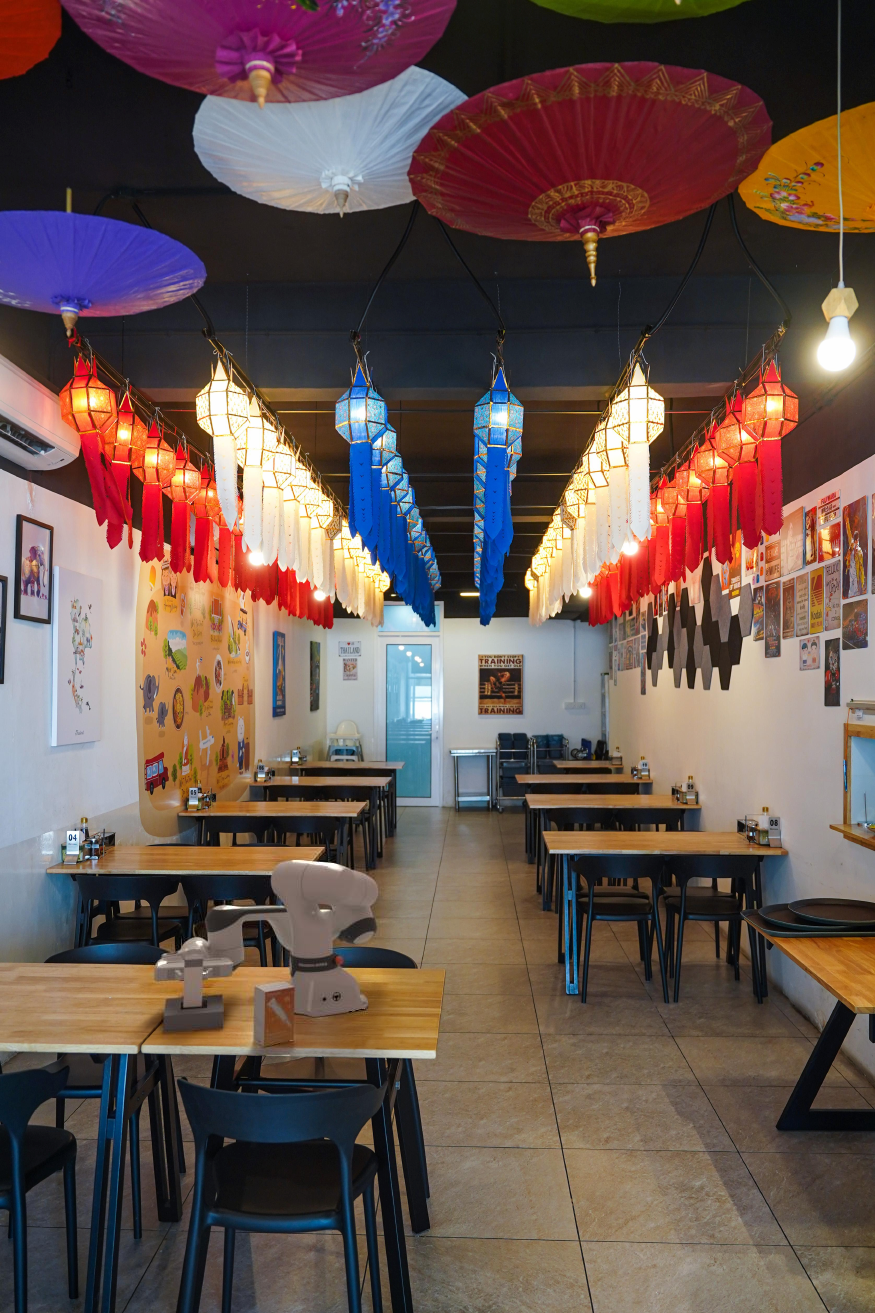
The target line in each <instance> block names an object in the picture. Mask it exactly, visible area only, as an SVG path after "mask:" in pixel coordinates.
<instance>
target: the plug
mask: <svg viewBox="0 0 875 1313" xmlns="http://www.w3.org/2000/svg"><path fill="white" fill-rule="evenodd" d="M202 978H203V954H201V955H185V963H184V981H183V997H184V1000H183V1008H184V1007H198V1006H202V996H203V980H202Z"/></svg>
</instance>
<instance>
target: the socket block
mask: <svg viewBox="0 0 875 1313" xmlns="http://www.w3.org/2000/svg"><path fill="white" fill-rule="evenodd" d="M223 999H224V997H223V994H213V995H211V994H210V995H202V1006H198V1007H184V1008H183V1000H184V996H182V997H172V998H171V997H170V998H166V999H165V1003H164V1004H165V1005H164V1011H163V1021H162V1022H163V1027H162V1032H163V1033H174V1032H186V1031H196V1030H198V1031H199V1030H210V1029H211V1030H212V1029H220V1028H222V1029H223V1028H224V1012H225V1011H224V1000H223Z"/></svg>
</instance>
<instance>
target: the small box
mask: <svg viewBox="0 0 875 1313" xmlns="http://www.w3.org/2000/svg"><path fill="white" fill-rule="evenodd" d="M253 988H254V992H253V993H254V995H253V996H254V997H253V1035H252V1037H253V1038H252V1039H253V1041H254V1042H256V1043H257V1044H259V1045H260V1046H262V1047H263V1048H265V1047H269V1046H274V1045H273V1044H275V1045H279V1043H280V1044H284V1042H285V1043H289V1042H291V1041H290V1040H293V1041H294V1038H295V1037H294V1032H295V1013H294V995H295V987H294V986H292V985H290V982H287V981H285V980H282V981H277V982H270V983H265V984H259V985H254V987H253ZM288 1041H289V1042H288Z"/></svg>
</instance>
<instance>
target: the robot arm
mask: <svg viewBox="0 0 875 1313" xmlns="http://www.w3.org/2000/svg"><path fill="white" fill-rule="evenodd" d="M270 884H271V888H272V891H273V893H274V894H275V895H276V896H277V897H278V898H279V899H280V900H281V902H282V903H283V905H279V904H277V905H276V904H275V905H274V904H271V905H270V904H269V905H268V904H267V905H265V904H263V905H236V906H234V905H227V904H222V905H218V906H215V907H212V908H211V909H210V910H209V912H208V913H207V915H206V916H205V919H204V922H205V923H204V924H205V929H206V932H207V940H206V939H204V938H202V937H198V936H196V937H192V938H190V939H187V941H185V942H184V943H183V944H182V946H181V948H180V949H179V950H177V951H171V952H167V953H163V954H162V955H161V958H160V959H159V960H157V962H156V963H155V966H154V972H153V976H154V977H153V980H154V981H155V982H166V981H167V982H169V981H178V982H184V963H185V955H201V954H203V978H202V981H204V980H205V981H206V980H209V979H216V978H228V977H231V976H232V975H233V972H235V971H236V970H237V969H239V967H241V965H243V963H244V962H245V948H244V943H243V942H244V941H243V930H242V929H243V927H242V926H243V923H244V922H248V921H267V922H268V924H270V925H271V927H272V930H273V931H274V934H275V936H276V938H277V940H278V941H279V943H280V944H281V945H282V946H283V948H285V949H287V950H288V951H290V952H291V953H290V956H289V975H290V979H289V980H290V982H289V984H290V985H292V986H294V987H295V995H294V1014H300V1015H304V1016H309V1017H313V1018H317V1017H324V1016H331V1015H338V1014H343V1013H350V1012H349V1011H352V1012H356V1011H355V1010H359V1009H364V1008H366V1007H367V1006H368V1007H369V1002H368V1001H369V1000H368V998H367V997H366V996H365V994H363V993H361V991H360V985H359V983H358V980H357V978H356V977H354V976H353V975H352V974H351V973H349V972H348V971H347V970H345V969H344V968H343V967H342V966H341V965H343V964H344V959H343V957H342V956H340V954H339V953H337V952H336V951H333V940H336V938H337V940H339V941H340V942H345V943H347V944H349V945H350V944H351V945H359V944H363V943H366V942H367V941H369V940H370V939H371V938H373V937H374V936H375V935H376V933H377V931H378V926H377V921H376V920H377V919H376V918H375V917H374V915H373V914H374V913H373V911H372V909H371V906H372V905H373V904H374V903H376V901H377V899H378V897H379V886H378V883H377V882H376V881H375V880H374V879H373V878H372V877H370V875H367V874H366V873H364V872H360V871H357V870H354V869H351V868H349V867H346V866H344V865H341V864H337V863H333V862H321V861H311V860H300V859H299V860H298V859H294V860H293V859H292V860H286V861H282V862H279V863H278V864H276V866H275V867H274V868H273V871H272V874H271V877H270ZM319 905H328V906H330V907H331V909H320V907H319ZM368 1007H367V1008H368ZM367 1008H366V1009H367ZM359 1011H360V1010H359Z"/></svg>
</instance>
